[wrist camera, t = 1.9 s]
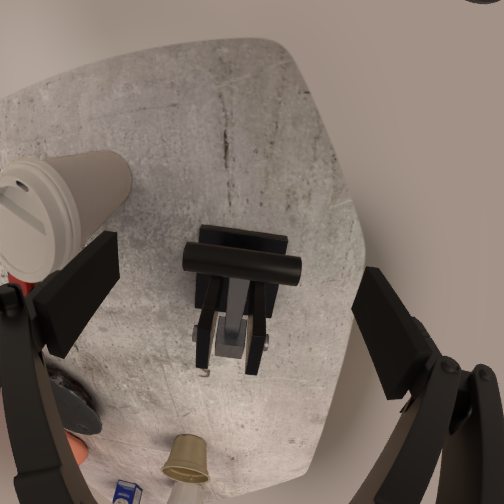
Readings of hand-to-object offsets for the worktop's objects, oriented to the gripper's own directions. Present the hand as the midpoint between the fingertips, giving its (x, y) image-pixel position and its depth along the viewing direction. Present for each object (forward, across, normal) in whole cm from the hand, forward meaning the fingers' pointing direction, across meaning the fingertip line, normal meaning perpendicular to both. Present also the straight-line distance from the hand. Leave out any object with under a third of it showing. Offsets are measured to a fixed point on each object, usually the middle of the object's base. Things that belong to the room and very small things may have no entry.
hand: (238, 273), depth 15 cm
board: (+17, -32, -42) cm, 55 cm away
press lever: (+4, 0, -4) cm, 6 cm away
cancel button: (+13, -28, -13) cm, 33 cm away
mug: (+17, -6, -81) cm, 83 cm away
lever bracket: (+16, 0, -9) cm, 18 cm away
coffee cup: (+16, -16, 0) cm, 22 cm away
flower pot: (+16, -5, -50) cm, 53 cm away
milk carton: (+17, -27, -99) cm, 104 cm away
